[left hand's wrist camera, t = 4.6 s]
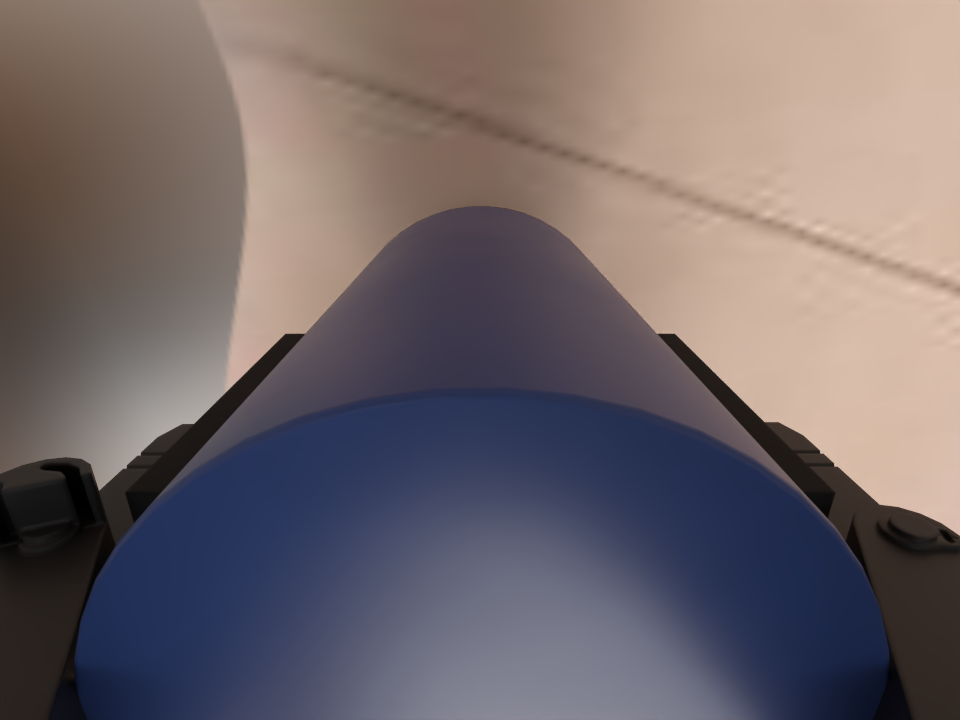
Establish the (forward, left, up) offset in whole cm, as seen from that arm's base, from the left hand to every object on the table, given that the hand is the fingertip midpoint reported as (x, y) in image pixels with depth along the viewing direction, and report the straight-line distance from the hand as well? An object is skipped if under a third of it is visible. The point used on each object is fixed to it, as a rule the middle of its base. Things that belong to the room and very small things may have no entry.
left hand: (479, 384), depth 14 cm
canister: (0, 0, -4) cm, 4 cm away
